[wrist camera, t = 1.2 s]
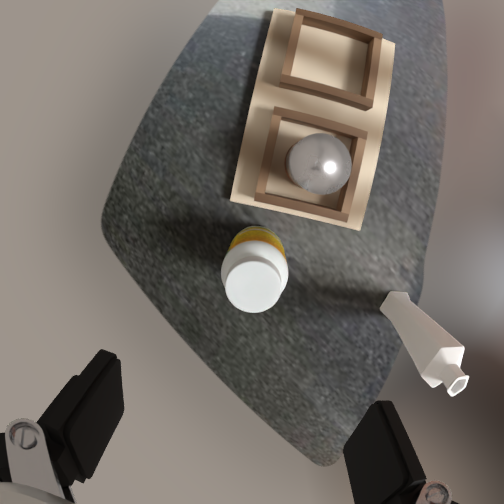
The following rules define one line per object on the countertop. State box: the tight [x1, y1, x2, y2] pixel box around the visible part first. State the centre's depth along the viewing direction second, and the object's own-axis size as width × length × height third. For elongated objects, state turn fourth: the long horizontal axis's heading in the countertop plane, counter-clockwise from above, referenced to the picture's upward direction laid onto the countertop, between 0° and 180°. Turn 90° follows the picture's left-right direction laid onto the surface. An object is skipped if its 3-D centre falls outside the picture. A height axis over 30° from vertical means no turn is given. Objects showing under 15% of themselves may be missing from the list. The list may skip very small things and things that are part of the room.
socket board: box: [230, 8, 395, 231], centre depth 24 cm, size 21×13×3 cm, turn 168°
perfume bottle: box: [380, 291, 469, 396], centre depth 24 cm, size 5×4×15 cm
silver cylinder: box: [284, 133, 352, 195], centre depth 23 cm, size 5×5×6 cm
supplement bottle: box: [221, 226, 288, 313], centre depth 25 cm, size 5×5×10 cm
